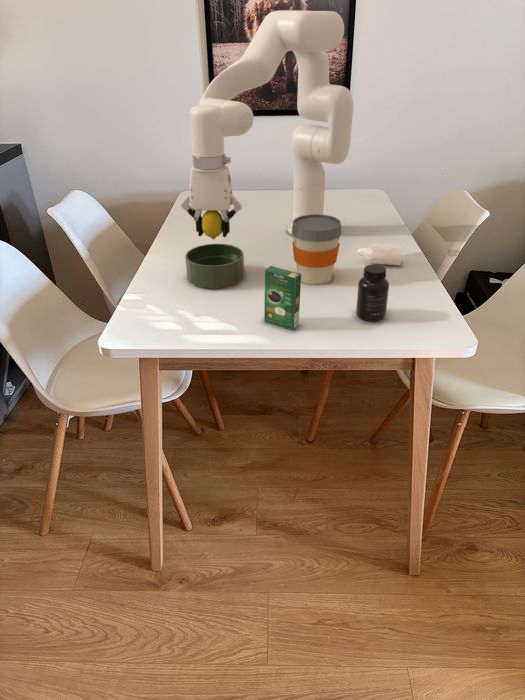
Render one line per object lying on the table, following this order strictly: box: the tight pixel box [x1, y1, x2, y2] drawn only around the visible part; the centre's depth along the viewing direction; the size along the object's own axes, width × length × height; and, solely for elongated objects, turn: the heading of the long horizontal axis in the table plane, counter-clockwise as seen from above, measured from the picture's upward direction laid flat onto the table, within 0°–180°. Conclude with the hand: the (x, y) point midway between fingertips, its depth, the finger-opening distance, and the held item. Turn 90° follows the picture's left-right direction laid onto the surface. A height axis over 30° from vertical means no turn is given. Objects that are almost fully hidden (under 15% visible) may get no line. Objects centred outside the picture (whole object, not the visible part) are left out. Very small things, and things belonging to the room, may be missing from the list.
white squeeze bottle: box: [356, 242, 403, 267], centre depth 154 cm, size 6×12×6 cm, turn 78°
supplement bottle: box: [355, 263, 390, 323], centre depth 126 cm, size 7×7×12 cm
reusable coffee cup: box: [291, 214, 342, 285], centre depth 144 cm, size 12×13×15 cm
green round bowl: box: [184, 243, 245, 289], centre depth 147 cm, size 15×15×6 cm
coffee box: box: [263, 265, 302, 331], centre depth 123 cm, size 8×3×13 cm, turn 57°
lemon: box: [201, 210, 223, 240], centre depth 141 cm, size 6×6×8 cm
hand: (213, 234), depth 142 cm, fingers closed on lemon, 5 cm apart
